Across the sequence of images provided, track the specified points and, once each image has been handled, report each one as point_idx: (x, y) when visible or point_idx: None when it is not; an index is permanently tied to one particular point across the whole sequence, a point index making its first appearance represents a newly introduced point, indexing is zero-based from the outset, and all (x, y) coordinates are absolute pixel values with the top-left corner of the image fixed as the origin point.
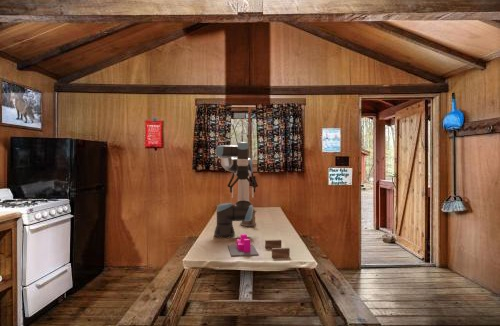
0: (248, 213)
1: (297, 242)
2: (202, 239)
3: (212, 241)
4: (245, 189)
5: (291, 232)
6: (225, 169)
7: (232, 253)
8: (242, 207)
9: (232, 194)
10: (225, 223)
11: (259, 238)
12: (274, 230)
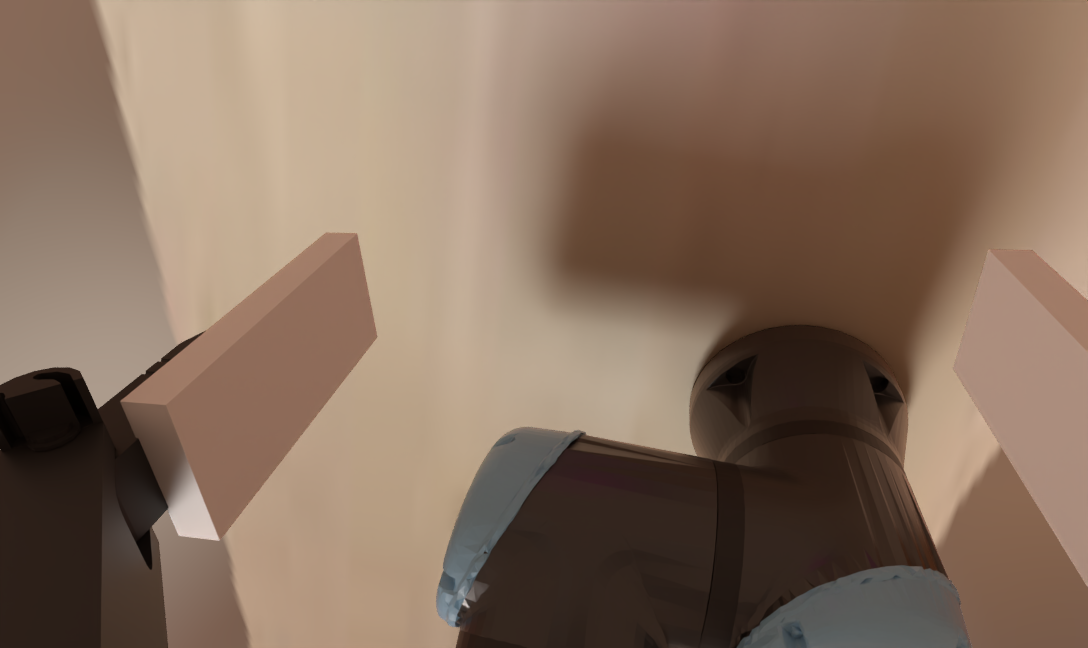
0: (525, 459)
1: (123, 47)
2: None
3: (988, 199)
4: None
5: None
6: None
7: None
8: (593, 561)
9: (1072, 307)
10: (821, 431)
11: (472, 247)
12: (331, 475)
